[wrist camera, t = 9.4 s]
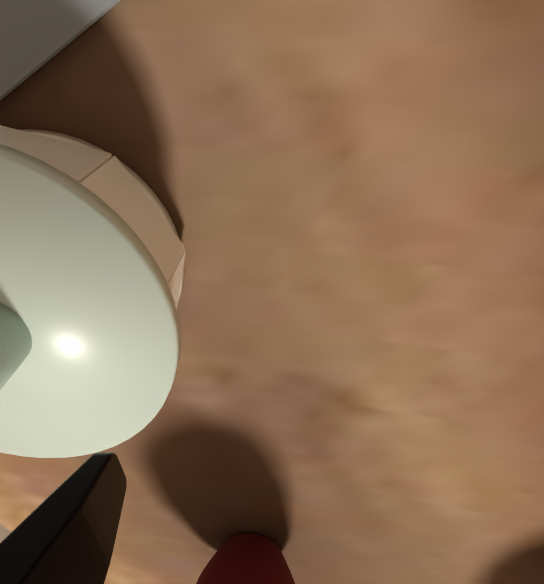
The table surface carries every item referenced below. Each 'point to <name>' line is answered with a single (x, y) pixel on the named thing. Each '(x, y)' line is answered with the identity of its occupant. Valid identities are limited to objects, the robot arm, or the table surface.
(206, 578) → the mug
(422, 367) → the table surface
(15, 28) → the mat
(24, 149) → the bowl
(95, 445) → the lid
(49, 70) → the table surface
